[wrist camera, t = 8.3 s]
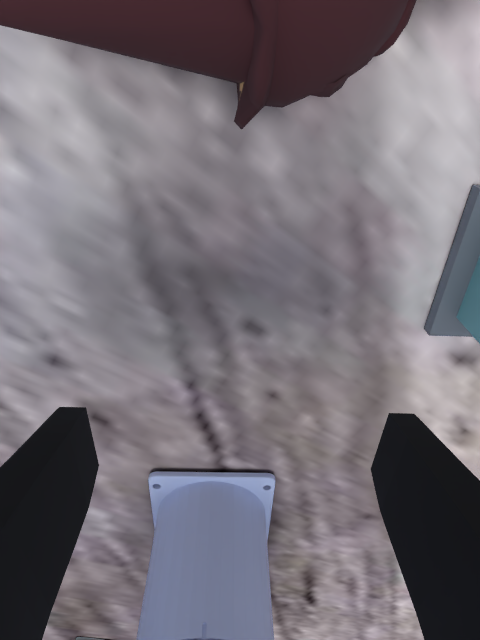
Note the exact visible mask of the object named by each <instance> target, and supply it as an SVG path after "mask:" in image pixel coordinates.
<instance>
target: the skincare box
mask: <svg viewBox="0 0 480 640" xmlns="http://www.w3.org/2000/svg"><path fill="white" fill-rule="evenodd" d="M75 640H103V639H96V638H87V637H77V638H76V639H75Z"/></svg>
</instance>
